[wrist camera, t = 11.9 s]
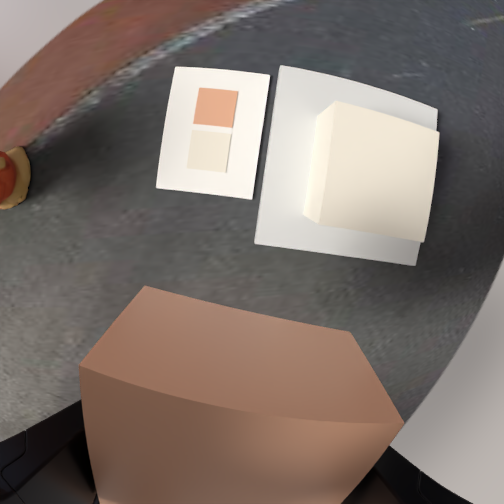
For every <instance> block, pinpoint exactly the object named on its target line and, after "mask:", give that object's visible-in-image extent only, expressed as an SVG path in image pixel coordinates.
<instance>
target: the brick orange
mask: <svg viewBox="0 0 504 504" xmlns="http://www.w3.org/2000/svg"><path fill="white" fill-rule="evenodd" d="M79 377H80V390H81V401H82V410H83V418H84V426H85V433H86V440H87V446H88V452H89V457H90V463H91V468H92V472H93V477H94V482H95V486H96V490H97V494H98V498H99V502H100V504H341V503H342V502H343V500H344V499H345V498H346V497H347V496H348V495H349V494H350V493H351V492H352V491H353V489H354V488H355V487H356V486H357V485H358V484H359V483H360V481H361V480H362V479H363V478H364V477H365V475H366V474H367V473H368V472H369V471H370V469H371V468H372V467H373V466H374V464H375V463H376V462H377V461H378V459H379V458H380V457H381V455H382V454H383V453H384V451H385V450H386V449H387V447H388V446H389V445H390V443H391V442H392V441H393V439H394V438H395V436H396V435H397V434H398V432H399V431H400V429H401V428H402V426H403V425H404V422H403V420H402V418H401V416H400V415H399V413H398V411H397V409H396V408H395V406H394V404H393V403H392V401H391V399H390V397H389V396H388V394H387V392H386V391H385V389H384V387H383V385H382V384H381V382H380V380H379V379H378V377H377V375H376V374H375V372H374V370H373V369H372V367H371V365H370V364H369V362H368V360H367V359H366V357H365V355H364V354H363V352H362V351H361V349H360V347H359V346H358V344H357V342H356V341H355V339H354V337H353V336H352V334H351V333H350V332H348V331H342V330H337V329H331V328H326V327H321V326H316V325H310V324H305V323H300V322H295V321H290V320H286V319H281V318H276V317H271V316H267V315H262V314H258V313H253V312H249V311H244V310H240V309H235V308H231V307H227V306H223V305H218V304H214V303H210V302H206V301H202V300H198V299H194V298H190V297H186V296H182V295H178V294H174V293H171V292H167V291H163V290H159V289H156V288H152V287H148V286H144V287H143V288H142V289H141V291H140V292H139V293H138V294H137V295H136V296H135V298H134V299H133V300H132V301H131V302H130V303H129V305H128V306H127V307H126V308H125V309H124V310H123V312H122V313H121V314H120V315H119V316H118V318H117V319H116V320H115V321H114V322H113V324H112V325H111V326H110V327H109V328H108V330H107V331H106V332H105V333H104V334H103V336H102V337H101V338H100V339H99V341H98V342H97V343H96V344H95V345H94V347H93V348H92V349H91V350H90V352H89V353H88V354H87V355H86V357H85V358H84V359H83V360H82V362H81V363H80V364H79Z"/></svg>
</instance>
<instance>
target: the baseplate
mask: <svg viewBox="0 0 504 504" xmlns="http://www.w3.org/2000/svg"><path fill="white" fill-rule="evenodd" d="M335 101H339V102H343V103H347V104H351V105H355V106H359V107H363V108H366V109H370V110H374V111H377V112H381V113H384V114H387V115H390V116H394V117H397V118H400V119H403V120H406V121H409V122H412V123H415V124H418V125H421V126H424V127H426V128H429V129H432V130H434V131H436V129H437V111H438V110H437V109H435V108H433V107H430V106H427V105H425V104H422V103H420V102H417V101H414V100H412V99H409V98H406V97H403V96H400V95H397V94H395V93H392V92H388V91H385V90H382V89H379V88H376V87H372V86H369V85H366V84H362V83H359V82H355V81H351V80H348V79H344V78H340V77H336V76H332V75H327V74H323V73H318V72H314V71H309V70H304V69H299V68H294V67H288V66H282V65H281V66H280V69H279V74H278V80H277V87H276V94H275V101H274V108H273V115H272V122H271V129H270V136H269V143H268V150H267V157H266V164H265V170H264V177H263V184H262V191H261V198H260V205H259V212H258V219H257V226H256V233H255V240H254V241H255V244H262V245H269V246H276V247H284V248H291V249H298V250H306V251H313V252H320V253H327V254H334V255H342V256H349V257H356V258H363V259H370V260H377V261H384V262H391V263H398V264H405V265H412V266H415V265H416V261H417V256H418V252H419V247H420V243H421V242H419V241H413V240H408V239H402V238H397V237H391V236H385V235H380V234H374V233H368V232H362V231H356V230H350V229H344V228H338V227H331V226H325V225H319V224H317V223H315V222H314V221H312V220H311V219H309V218H307V217H306V216H304V215H303V213H304V207H305V200H306V194H307V187H308V180H309V174H310V167H311V160H312V152H313V145H314V137H315V130H316V122H317V116H318V115H319V114H321V113H322V112H323V111H324V110H325V109H326V108H328V107H329V106H330V105H331V104H332V103H334V102H335Z"/></svg>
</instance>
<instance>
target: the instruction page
mask: <svg viewBox="0 0 504 504" xmlns="http://www.w3.org/2000/svg"><path fill="white" fill-rule="evenodd" d="M269 80H270V75H265V74H258V73H250V72H242V71H232V70H222V69H210V68H194V67H175V72H174V76H173V81H172V86H171V91H170V97H169V102H168V108H167V113H166V119H165V125H164V132H163V138H162V145H161V152H160V159H159V167H158V175H157V183H156V188H160V189H170V190H179V191H188V192H197V193H206V194H214V195H222V196H230V197H237V198H245V199H252V197H253V190H254V183H255V176H256V169H257V162H258V155H259V148H260V141H261V134H262V127H263V120H264V114H265V107H266V100H267V93H268V87H269Z"/></svg>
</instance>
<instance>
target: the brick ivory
mask: <svg viewBox="0 0 504 504" xmlns="http://www.w3.org/2000/svg"><path fill="white" fill-rule="evenodd" d="M438 144H439V132H437V131H434V130H432V129H429V128H426V127H424V126H421V125H418V124H415V123H412V122H409V121H406V120H403V119H400V118H397V117H394V116H390V115H387V114H384V113H381V112H377V111H374V110H370V109H366V108H363V107H359V106H355V105H351V104H347V103H343V102H339V101H335V102H334V103H332V104H331V105H330V106H329V107H328V108H326V109H325V110H324V111H323V112H322V113H321V114H319V115H318V116H317V122H316V130H315V137H314V145H313V152H312V160H311V167H310V174H309V180H308V187H307V194H306V200H305V207H304V213H303V215H304V216H306V217H307V218H309V219H311V220H312V221H314V222H315V223H317V224H319V225H325V226H331V227H338V228H344V229H350V230H356V231H362V232H368V233H374V234H380V235H385V236H391V237H397V238H402V239H408V240H413V241H419V242H424V240H425V235H426V230H427V225H428V219H429V214H430V208H431V202H432V195H433V188H434V181H435V173H436V165H437V155H438Z"/></svg>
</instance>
